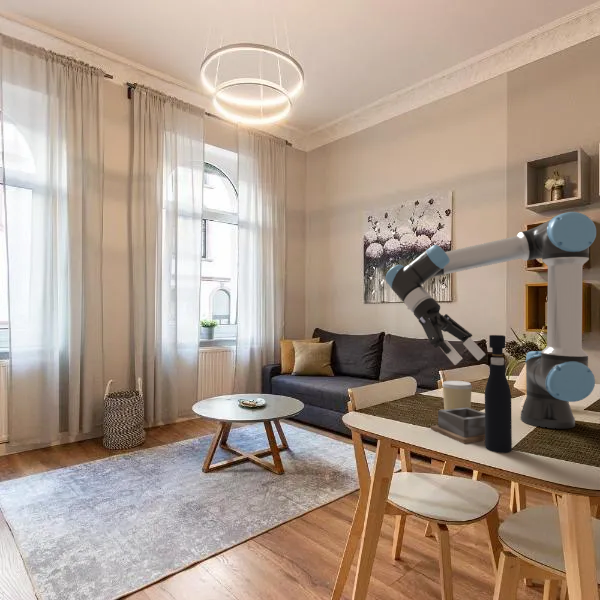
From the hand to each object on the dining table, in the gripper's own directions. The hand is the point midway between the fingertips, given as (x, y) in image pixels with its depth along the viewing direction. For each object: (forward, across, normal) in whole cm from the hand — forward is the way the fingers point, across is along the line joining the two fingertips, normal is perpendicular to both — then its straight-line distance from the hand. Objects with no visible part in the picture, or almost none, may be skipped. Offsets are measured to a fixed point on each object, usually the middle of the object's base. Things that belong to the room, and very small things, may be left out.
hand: (470, 359), depth 116 cm
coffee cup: (+6, -20, -27) cm, 34 cm away
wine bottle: (+21, 0, -11) cm, 24 cm away
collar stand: (+13, -7, -20) cm, 24 cm away
